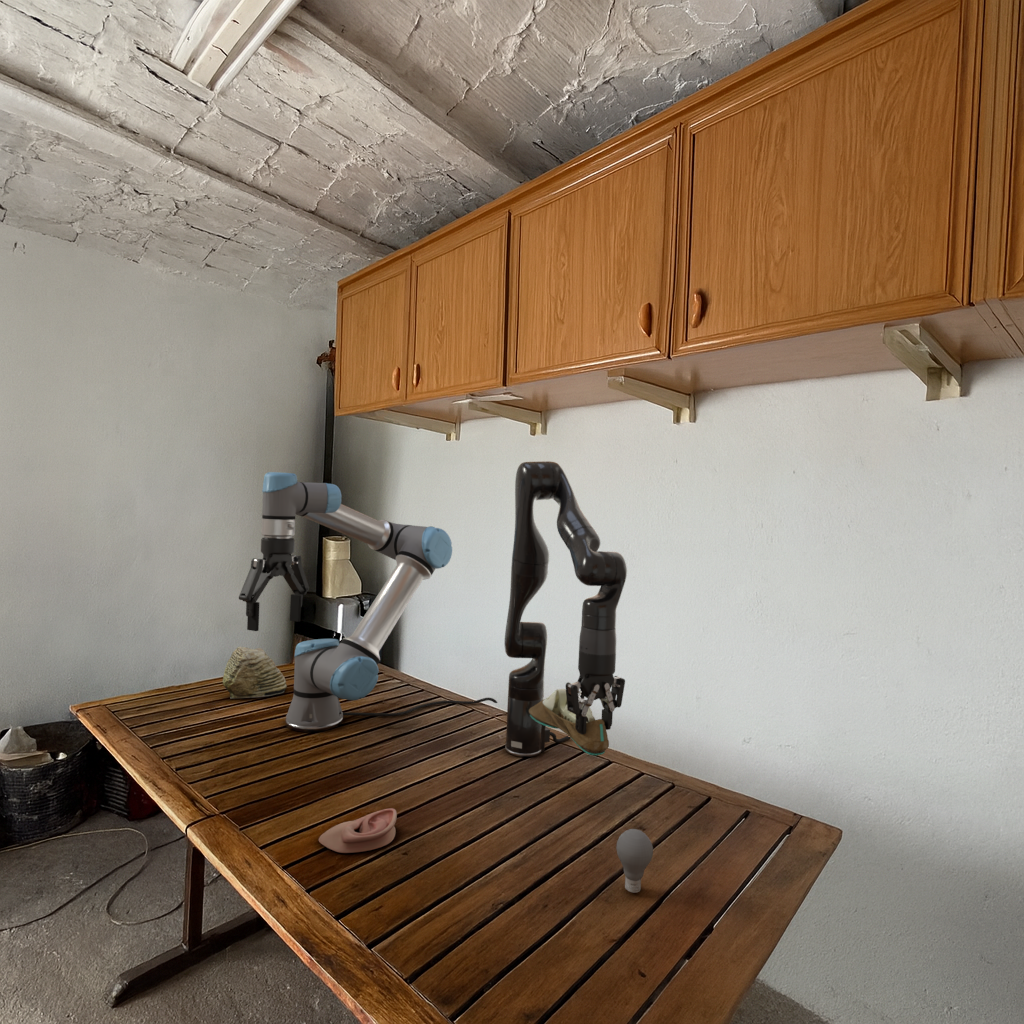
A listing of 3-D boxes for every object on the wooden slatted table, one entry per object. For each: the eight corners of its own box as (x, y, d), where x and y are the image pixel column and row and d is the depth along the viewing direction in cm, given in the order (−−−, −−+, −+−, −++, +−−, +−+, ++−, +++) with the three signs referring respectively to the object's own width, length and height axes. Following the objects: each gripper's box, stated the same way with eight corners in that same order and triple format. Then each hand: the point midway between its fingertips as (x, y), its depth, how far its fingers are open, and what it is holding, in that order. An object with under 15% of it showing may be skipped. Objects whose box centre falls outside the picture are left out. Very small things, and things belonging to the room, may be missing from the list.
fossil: (218, 695, 195) (220, 647, 195) (278, 685, 208) (279, 640, 207) (228, 703, 189) (230, 653, 188) (289, 692, 201) (290, 645, 201)
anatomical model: (310, 826, 114) (340, 797, 125) (309, 848, 114) (339, 817, 125) (379, 837, 111) (403, 806, 122) (378, 859, 111) (403, 827, 123)
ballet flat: (552, 711, 150) (554, 674, 149) (617, 754, 128) (620, 711, 128) (521, 715, 146) (524, 678, 145) (583, 760, 124) (587, 716, 124)
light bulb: (610, 879, 108) (613, 822, 108) (644, 879, 109) (647, 822, 109) (619, 902, 102) (622, 840, 102) (655, 901, 103) (658, 840, 103)
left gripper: (249, 540, 138) (245, 636, 139) (325, 536, 161) (322, 619, 162) (223, 537, 141) (220, 632, 142) (302, 534, 164) (299, 615, 165)
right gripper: (580, 656, 122) (576, 743, 122) (636, 650, 130) (632, 731, 130) (558, 647, 129) (554, 730, 129) (612, 642, 136) (609, 720, 136)
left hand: (274, 625), depth 152 cm, fingers open, 13 cm apart
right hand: (593, 730), depth 129 cm, fingers closed on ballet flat, 5 cm apart
